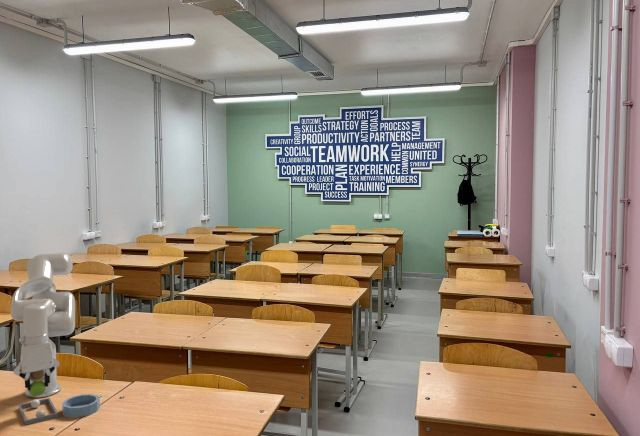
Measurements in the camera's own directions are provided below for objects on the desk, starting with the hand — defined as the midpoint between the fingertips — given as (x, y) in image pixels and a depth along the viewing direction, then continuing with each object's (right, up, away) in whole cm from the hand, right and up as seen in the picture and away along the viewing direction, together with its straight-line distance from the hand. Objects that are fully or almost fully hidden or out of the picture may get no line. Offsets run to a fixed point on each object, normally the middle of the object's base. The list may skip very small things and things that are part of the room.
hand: (37, 386), depth 184 cm
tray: (0, -9, 0) cm, 9 cm away
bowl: (+15, -9, +2) cm, 18 cm away
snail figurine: (-1, -3, 0) cm, 3 cm away
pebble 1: (-3, -9, +4) cm, 10 cm away
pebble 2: (+4, -10, -5) cm, 11 cm away
